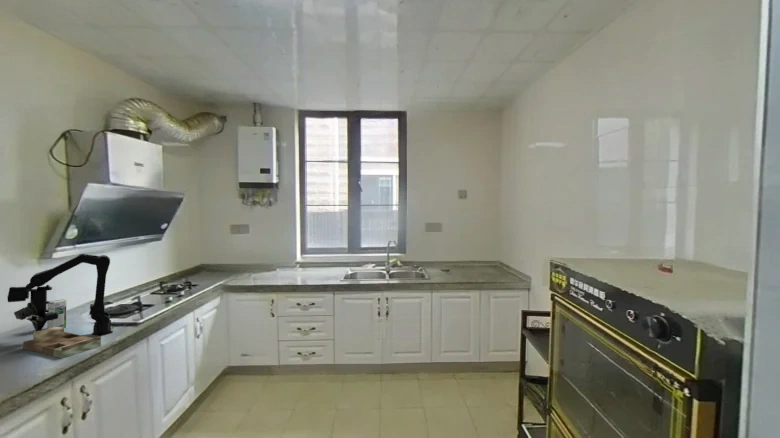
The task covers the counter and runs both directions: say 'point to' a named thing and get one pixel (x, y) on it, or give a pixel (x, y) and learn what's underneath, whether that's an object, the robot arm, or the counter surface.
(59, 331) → the maple slab
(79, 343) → the trap deck
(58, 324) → the syrup box
